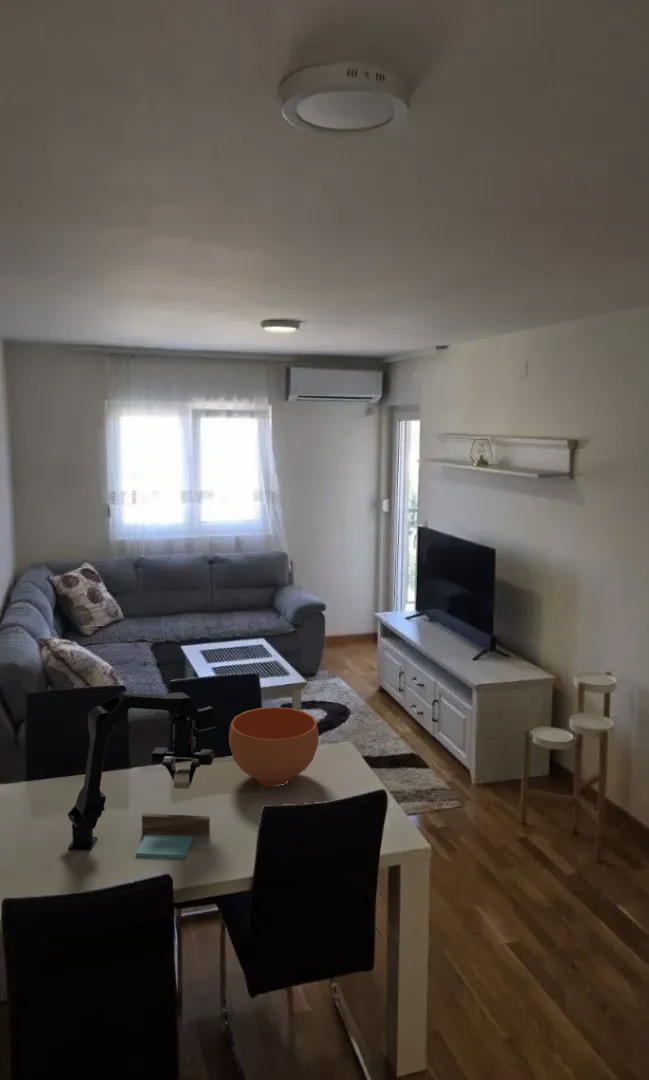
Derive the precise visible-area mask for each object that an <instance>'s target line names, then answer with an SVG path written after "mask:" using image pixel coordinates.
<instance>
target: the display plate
mask: <svg viewBox="0 0 649 1080" xmlns="http://www.w3.org/2000/svg"><path fill="white" fill-rule="evenodd" d="M193 840H194V836H189V835H188V836H186V835H185V836H184V835H183V836H182V835H167V834H166V835H162V834H161V835H160V834H145V836H144V837H143V839H142V841H141V843H140V844H139V847H138V849H137V850H136V852H135V857H138V858H139V857H141V858H142V857H143V858H163V859H165V858H166V859H167V858H168V859H187V855H188V853H189V850H190V848H191V845H192V844H193Z"/></svg>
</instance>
